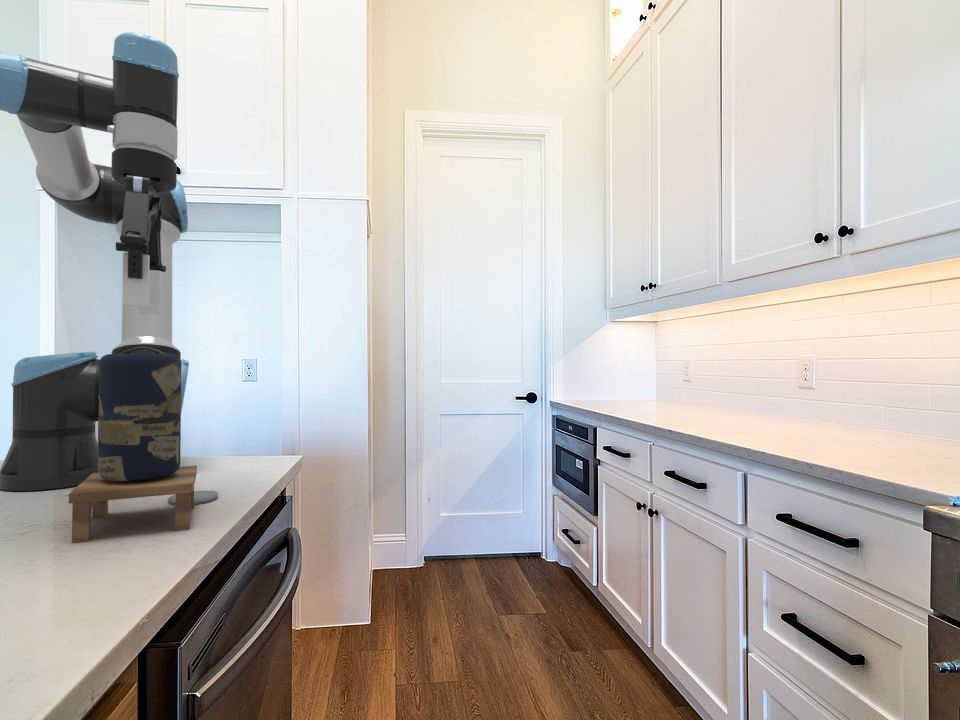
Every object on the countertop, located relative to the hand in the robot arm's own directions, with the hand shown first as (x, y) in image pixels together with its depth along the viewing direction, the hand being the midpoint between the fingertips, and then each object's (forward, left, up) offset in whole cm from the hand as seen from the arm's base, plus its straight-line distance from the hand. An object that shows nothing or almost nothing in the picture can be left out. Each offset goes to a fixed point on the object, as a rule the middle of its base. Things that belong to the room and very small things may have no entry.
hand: (143, 310), depth 71 cm
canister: (0, 0, -23) cm, 23 cm away
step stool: (0, 0, -29) cm, 29 cm away
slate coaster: (-10, +6, -29) cm, 31 cm away
